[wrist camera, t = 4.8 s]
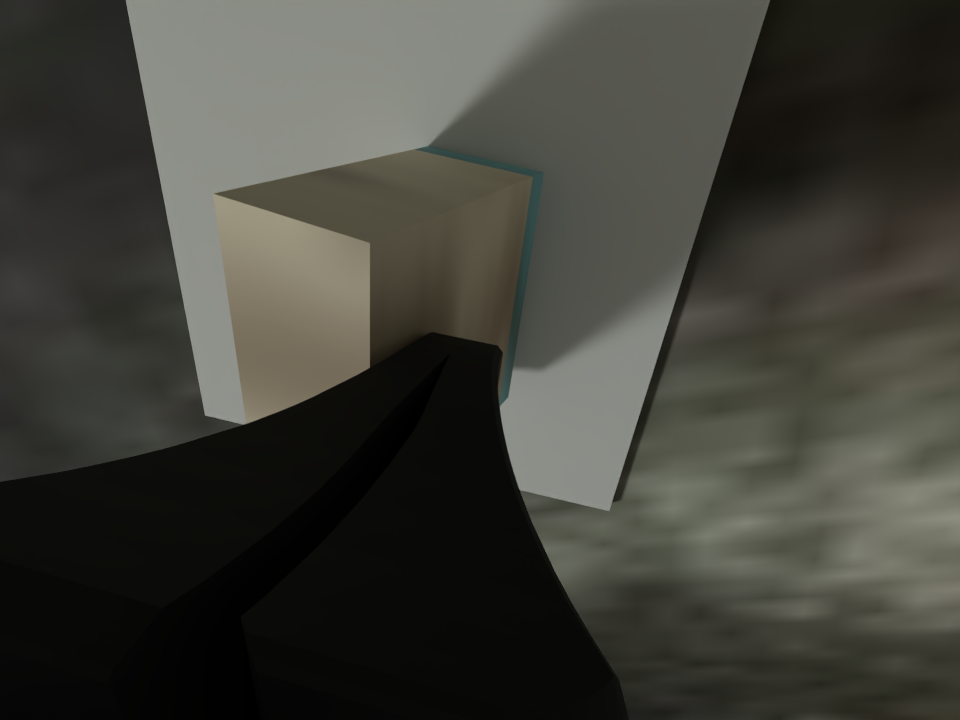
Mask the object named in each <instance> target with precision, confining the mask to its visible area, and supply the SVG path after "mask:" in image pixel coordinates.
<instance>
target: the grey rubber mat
mask: <svg viewBox="0 0 960 720" xmlns="http://www.w3.org/2000/svg"><path fill="white" fill-rule="evenodd" d="M769 2H770V0H126V4H127V9H128V14H129V19H130V24H131V30H132V35H133V40H134V45H135V51H136V56H137V61H138V66H139V72H140V77H141V82H142V87H143V92H144V98H145V103H146V108H147V113H148V119H149V124H150V129H151V134H152V140H153V145H154V150H155V155H156V160H157V166H158V171H159V176H160V181H161V187H162V192H163V197H164V202H165V207H166V213H167V218H168V223H169V228H170V234H171V239H172V244H173V249H174V255H175V260H176V265H177V270H178V275H179V281H180V286H181V291H182V296H183V302H184V307H185V312H186V317H187V323H188V328H189V333H190V338H191V343H192V349H193V354H194V359H195V364H196V370H197V375H198V380H199V385H200V391H201V396H202V401H203V406H204V411H205V415H206V416H210V417H214V418H218V419H223V420H227V421H231V422H235V423H240V424H246V418H245V412H244V405H243V398H242V391H241V384H240V377H239V370H238V363H237V356H236V349H235V343H234V336H233V329H232V322H231V315H230V308H229V301H228V294H227V287H226V280H225V273H224V267H223V260H222V253H221V246H220V239H219V232H218V225H217V218H216V211H215V204H214V198H213V194H214V193H218V192H223V191H227V190H232V189H236V188H241V187H245V186H250V185H254V184H259V183H263V182H268V181H272V180H277V179H281V178H286V177H290V176H295V175H299V174H304V173H308V172H313V171H318V170H322V169H327V168H331V167H336V166H340V165H345V164H349V163H354V162H358V161H363V160H367V159H372V158H376V157H381V156H385V155H390V154H394V153H399V152H403V151H408V150H412V149H417V148H422V147H426V146H430V147H434V148H438V149H443V150H447V151H452V152H456V153H461V154H465V155H469V156H474V157H478V158H483V159H487V160H492V161H496V162H500V163H505V164H509V165H514V166H518V167H523V168H527V169H531V170H536V171H540V172H544V176H543V182H542V188H541V195H540V201H539V207H538V213H537V220H536V226H535V232H534V239H533V245H532V251H531V258H530V264H529V270H528V276H527V283H526V289H525V295H524V302H523V308H522V314H521V320H520V327H519V333H518V339H517V346H516V352H515V358H514V365H513V371H512V377H511V383H510V390H509V396H508V398H507V399H506V400H505V401H504V403H503V404H502V405H501V406H500V413H501V420H502V426H503V432H504V436H505V441H506V445H507V450H508V453H509V457H510V461H511V465H512V468H513V472H514V475H515V478H516V481H517V484H518V487H519V490H522V491H527V492H531V493H535V494H539V495H543V496H548V497H552V498H556V499H560V500H564V501H569V502H573V503H577V504H581V505H586V506H590V507H594V508H598V509H602V510H607V511H609V510H610V507H611V504H612V501H613V497H614V494H615V491H616V488H617V485H618V481H619V478H620V475H621V472H622V469H623V466H624V462H625V459H626V456H627V453H628V450H629V447H630V443H631V440H632V437H633V434H634V431H635V427H636V424H637V421H638V418H639V415H640V412H641V408H642V405H643V402H644V399H645V396H646V393H647V389H648V386H649V383H650V380H651V377H652V373H653V370H654V367H655V364H656V361H657V358H658V354H659V351H660V348H661V345H662V342H663V339H664V335H665V332H666V329H667V326H668V323H669V320H670V316H671V313H672V310H673V307H674V304H675V300H676V297H677V294H678V291H679V288H680V285H681V281H682V278H683V275H684V272H685V269H686V266H687V262H688V259H689V256H690V253H691V250H692V246H693V243H694V240H695V237H696V234H697V231H698V227H699V224H700V221H701V218H702V215H703V212H704V208H705V205H706V202H707V199H708V196H709V192H710V189H711V186H712V183H713V180H714V177H715V173H716V170H717V167H718V164H719V161H720V158H721V154H722V151H723V148H724V145H725V142H726V138H727V135H728V132H729V129H730V126H731V123H732V119H733V116H734V113H735V110H736V107H737V104H738V100H739V97H740V94H741V91H742V88H743V85H744V81H745V78H746V75H747V72H748V69H749V65H750V62H751V59H752V56H753V53H754V50H755V46H756V43H757V40H758V37H759V34H760V31H761V27H762V24H763V21H764V18H765V15H766V11H767V8H768V5H769Z"/></svg>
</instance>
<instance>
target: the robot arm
mask: <svg viewBox="0 0 960 720" xmlns="http://www.w3.org/2000/svg"><path fill="white" fill-rule="evenodd" d="M502 357H503V352H502V350H501V349H500V348H499V346H498V345H493V344H488V343H483V342H478V341H474V340H469V339H464V338H459V337H454V336H449V335H444V334H439V333H435V332H431V333H429V334H427V335H425V336H423V337H421V338H420V339H418V340H416V341H415V342H413V343H411V344H410V345H408V346H406V347H405V348H403V349H401V350H400V351H398V352H396V353H395V354H393V355H391V356H389V357H388V358H386V359H384V360H382V361H381V362H379V363H377V364H375V365H374V366H372V367H370V368H368V369H367V370H365V371H363V372H361V373H359V374H358V375H356V376H354V377H352V378H350V379H348V380H346V381H344V382H342V383H340V384H338V385H336V386H334V387H332V388H330V389H328V390H326V391H324V392H322V393H320V394H318V395H316V396H314V397H312V398H309V399H307V400H305V401H303V402H300V403H298V404H296V405H293V406H291V407H289V408H286V409H284V410H281V411H279V412H276V413H274V414H271V415H268V416H266V417H263V418H261V419H258V420H255V421H253V422H250V423H247V424H244V425H241V426H239V427H235V428H232V429H229V430H226V431H222V432H219V433H216V434H212V435H209V436H206V437H203V438H199V439H196V440H193V441H190V442H186V443H183V444H180V445H177V446H173V447H169V448H166V449H162V450H158V451H154V452H150V453H146V454H142V455H138V456H134V457H129V458H125V459H120V460H116V461H111V462H107V463H102V464H98V465H93V466H88V467H83V468H78V469H73V470H68V471H63V472H58V473H52V474H46V475H40V476H34V477H28V478H22V479H16V480H10V481H3V482H0V720H629V718H628V714H627V710H626V706H625V702H624V698H623V694H622V690H621V686H620V682H619V679H618V677H617V676H616V674H615V673H614V671H613V670H612V668H611V666H610V665H609V663H608V662H607V660H606V659H605V657H604V656H603V654H602V652H601V651H600V649H599V648H598V646H597V645H596V643H595V641H594V640H593V638H592V636H591V635H590V633H589V631H588V630H587V628H586V626H585V625H584V623H583V621H582V620H581V618H580V616H579V615H578V613H577V611H576V610H575V608H574V606H573V604H572V602H571V601H570V599H569V597H568V595H567V593H566V591H565V590H564V588H563V586H562V584H561V582H560V580H559V579H558V577H557V575H556V573H555V571H554V569H553V567H552V565H551V562H550V560H549V558H548V556H547V554H546V552H545V550H544V547H543V545H542V543H541V541H540V539H539V537H538V535H537V532H536V530H535V528H534V526H533V524H532V522H531V519H530V517H529V514H528V511H527V509H526V506H525V503H524V501H523V498H522V496H521V493H520V490H519V487H518V484H517V481H516V478H515V475H514V472H513V468H512V465H511V461H510V457H509V453H508V450H507V445H506V441H505V436H504V432H503V426H502V420H501V413H500V405H499V397H498V384H499V377H500V370H501V364H502Z"/></svg>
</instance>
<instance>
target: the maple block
mask: <svg viewBox="0 0 960 720" xmlns="http://www.w3.org/2000/svg"><path fill="white" fill-rule="evenodd" d="M543 176H544V172H540V171H536V170H531V169H527V168H523V167H518V166H514V165H509V164H505V163H500V162H496V161H492V160H487V159H483V158H478V157H474V156H469V155H465V154H461V153H456V152H452V151H447V150H443V149H438V148H434V147H430V146H426V147H422V148H417V149H412V150H408V151H403V152H399V153H394V154H390V155H385V156H381V157H376V158H372V159H367V160H363V161H358V162H354V163H349V164H345V165H340V166H336V167H331V168H327V169H322V170H318V171H313V172H308V173H304V174H299V175H295V176H290V177H286V178H281V179H277V180H272V181H268V182H263V183H259V184H254V185H250V186H245V187H241V188H236V189H232V190H227V191H223V192H218V193H214V194H213V198H214V204H215V211H216V218H217V225H218V232H219V239H220V246H221V253H222V260H223V267H224V273H225V280H226V287H227V294H228V301H229V308H230V315H231V322H232V329H233V336H234V343H235V349H236V356H237V363H238V370H239V377H240V384H241V391H242V398H243V405H244V412H245V418H246V424H247V423H250V422H253V421H255V420H258V419H261V418H263V417H266V416H268V415H271V414H274V413H276V412H279V411H281V410H284V409H286V408H289V407H291V406H293V405H296V404H298V403H300V402H303V401H305V400H307V399H309V398H312V397H314V396H316V395H318V394H320V393H322V392H324V391H326V390H328V389H330V388H332V387H334V386H336V385H338V384H340V383H342V382H344V381H346V380H348V379H350V378H352V377H354V376H356V375H358V374H359V373H361V372H363V371H365V370H367V369H368V368H370V367H372V366H374V365H375V364H377V363H379V362H381V361H382V360H384V359H386V358H388V357H389V356H391V355H393V354H395V353H396V352H398V351H400V350H401V349H403V348H405V347H406V346H408V345H410V344H411V343H413V342H415V341H416V340H418V339H420V338H421V337H423V336H425V335H427V334H429V333H431V332H435V333H439V334H444V335H449V336H454V337H459V338H464V339H469V340H474V341H478V342H483V343H488V344H493V345H498V346H499V348H500V349H501V350H502V352H503V357H502V364H501V370H500V377H499V384H498V397H499V405H500V406H501V405H502V404H503V403H504V401H505V400H506V399H507V398H508V396H509V390H510V383H511V377H512V371H513V365H514V358H515V352H516V346H517V339H518V333H519V327H520V320H521V314H522V308H523V302H524V295H525V289H526V283H527V276H528V270H529V264H530V258H531V251H532V245H533V239H534V232H535V226H536V220H537V213H538V207H539V201H540V195H541V188H542V182H543Z"/></svg>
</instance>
